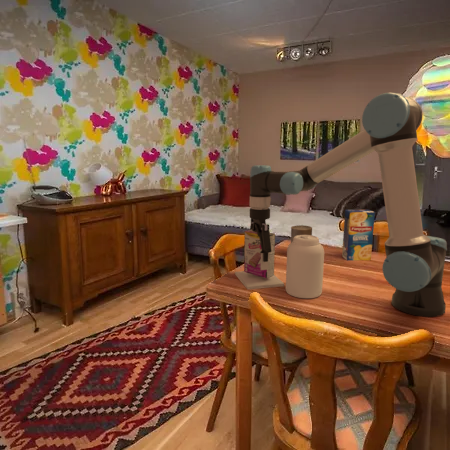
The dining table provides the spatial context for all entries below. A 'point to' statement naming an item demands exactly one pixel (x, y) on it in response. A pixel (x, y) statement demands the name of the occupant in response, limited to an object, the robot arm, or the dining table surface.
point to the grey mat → (258, 281)
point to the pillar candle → (300, 231)
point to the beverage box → (358, 235)
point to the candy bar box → (257, 255)
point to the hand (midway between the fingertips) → (258, 264)
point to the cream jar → (304, 267)
